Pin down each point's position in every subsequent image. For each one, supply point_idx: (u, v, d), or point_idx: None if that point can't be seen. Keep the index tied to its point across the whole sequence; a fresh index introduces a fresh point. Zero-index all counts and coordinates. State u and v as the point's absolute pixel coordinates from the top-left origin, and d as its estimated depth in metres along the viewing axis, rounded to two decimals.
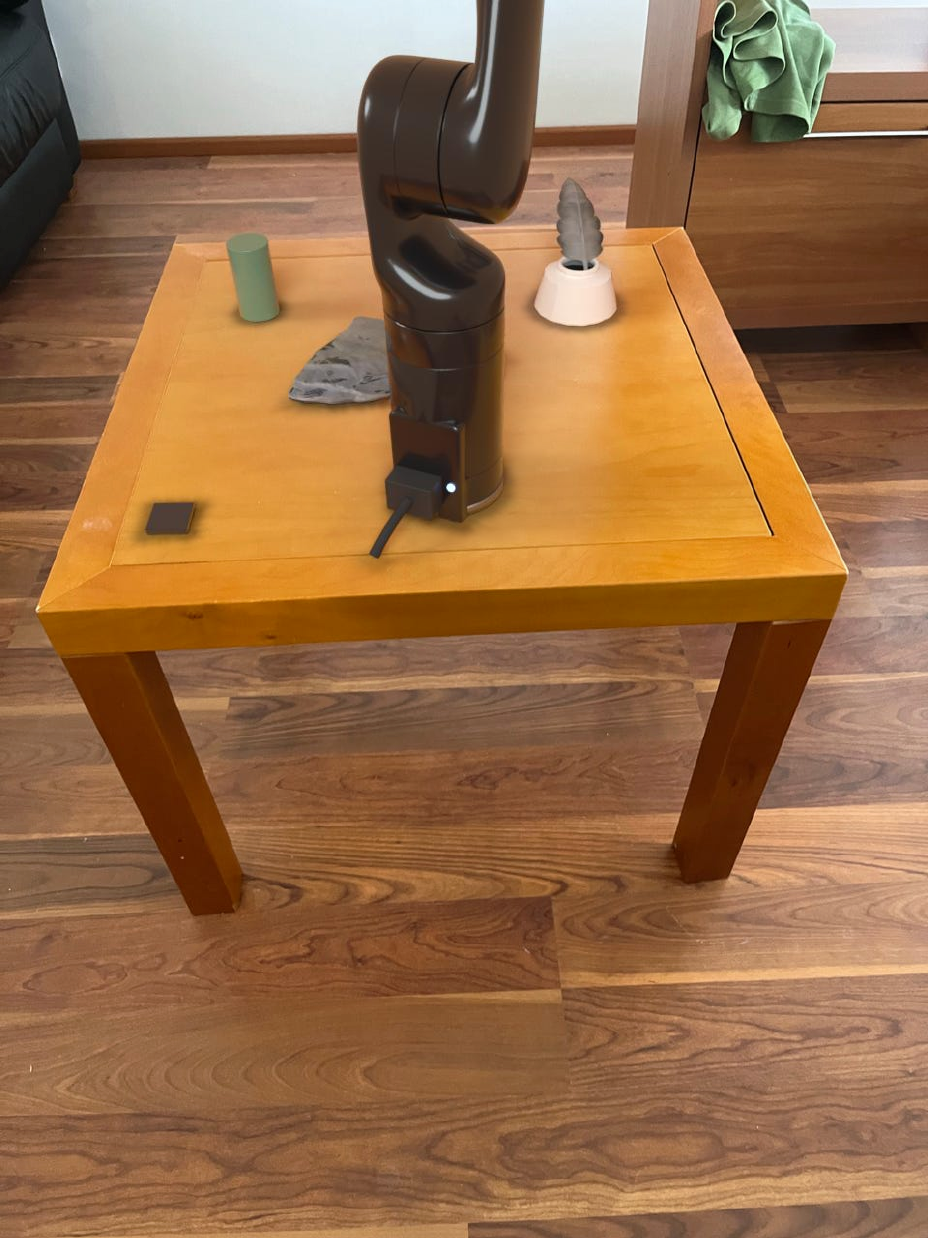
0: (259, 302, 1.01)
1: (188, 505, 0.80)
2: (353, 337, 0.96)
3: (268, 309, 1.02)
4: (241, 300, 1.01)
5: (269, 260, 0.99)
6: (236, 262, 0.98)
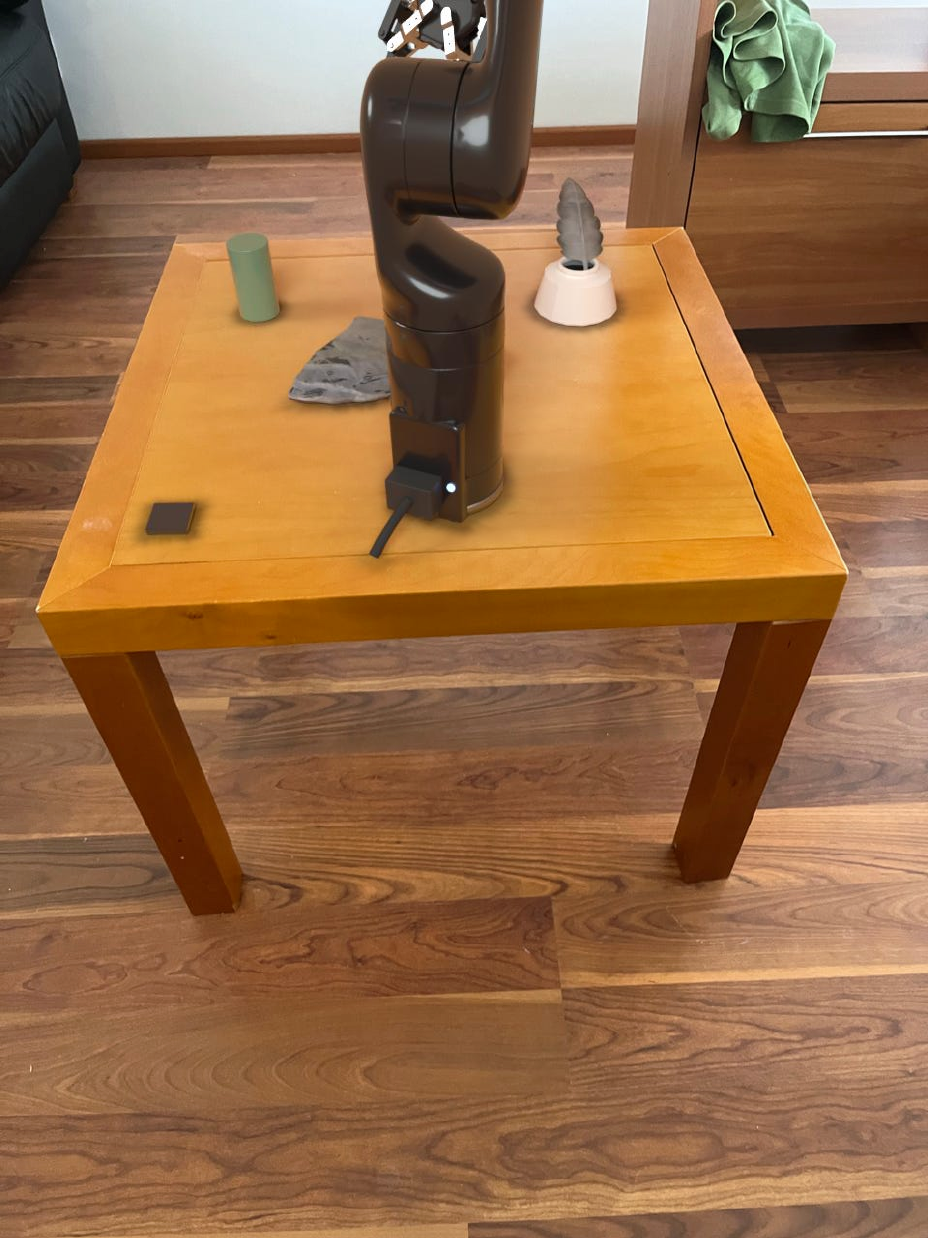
0: (259, 302, 1.01)
1: (188, 505, 0.80)
2: (353, 337, 0.96)
3: (268, 309, 1.02)
4: (241, 300, 1.01)
5: (269, 260, 0.99)
6: (236, 262, 0.98)
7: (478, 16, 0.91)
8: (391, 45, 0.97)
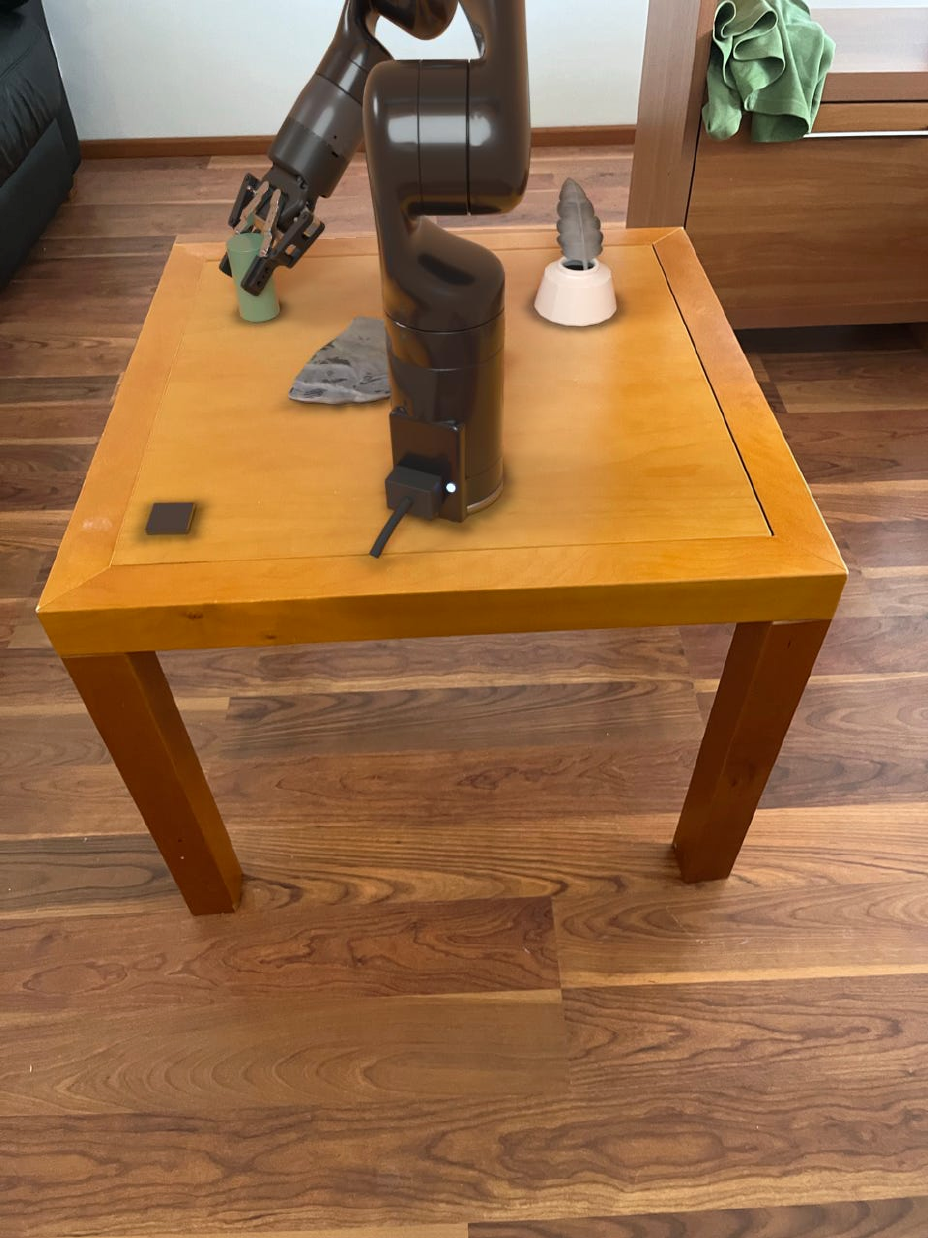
0: (259, 302, 1.01)
1: (188, 505, 0.80)
2: (353, 337, 0.96)
3: (268, 309, 1.02)
4: (241, 300, 1.01)
5: None
6: (236, 262, 0.98)
7: (303, 204, 0.95)
8: (236, 230, 1.00)
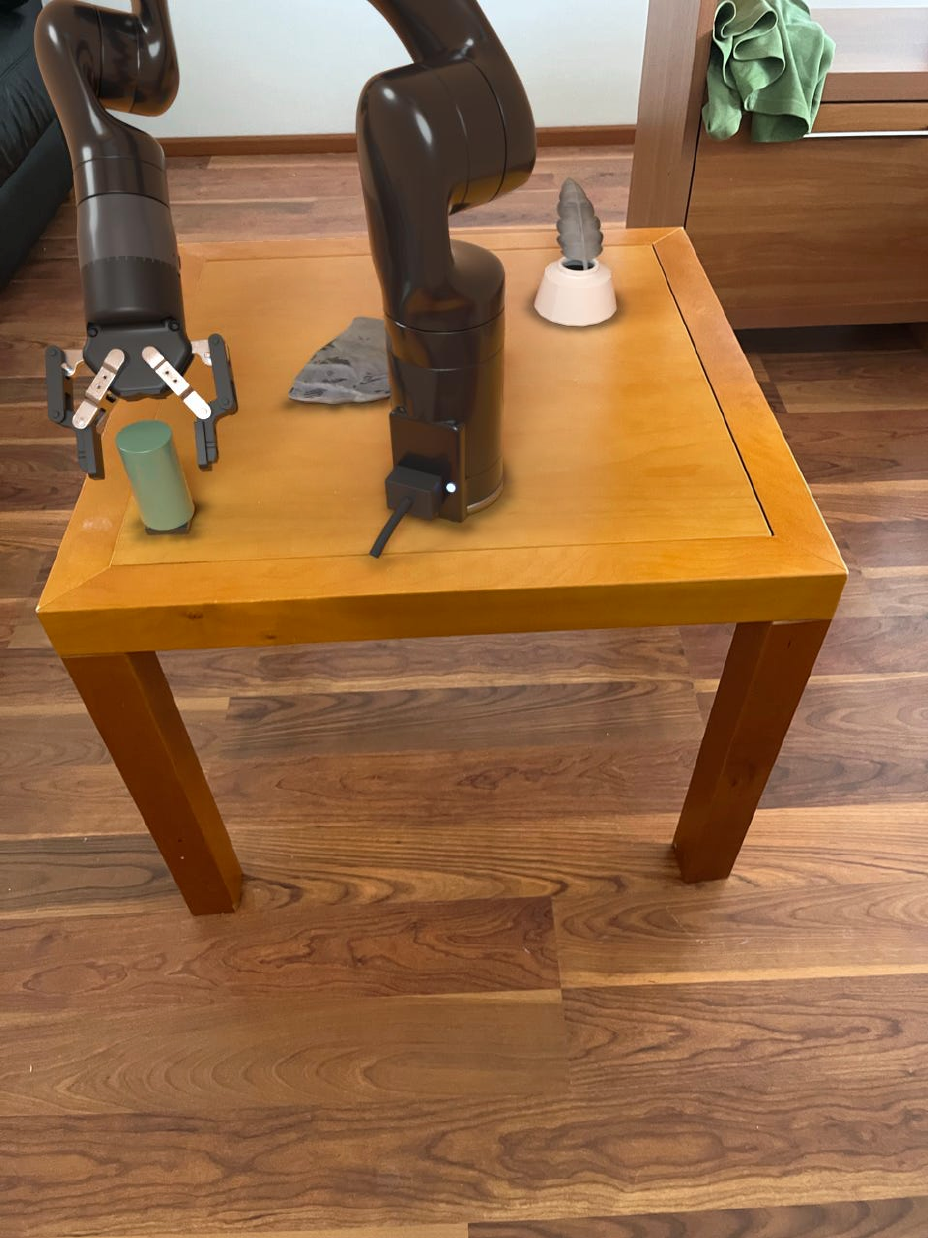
0: (185, 496, 0.77)
1: None
2: (353, 337, 0.96)
3: (191, 499, 0.79)
4: (165, 508, 0.76)
5: None
6: (157, 463, 0.73)
7: (189, 341, 0.74)
8: (81, 421, 0.73)
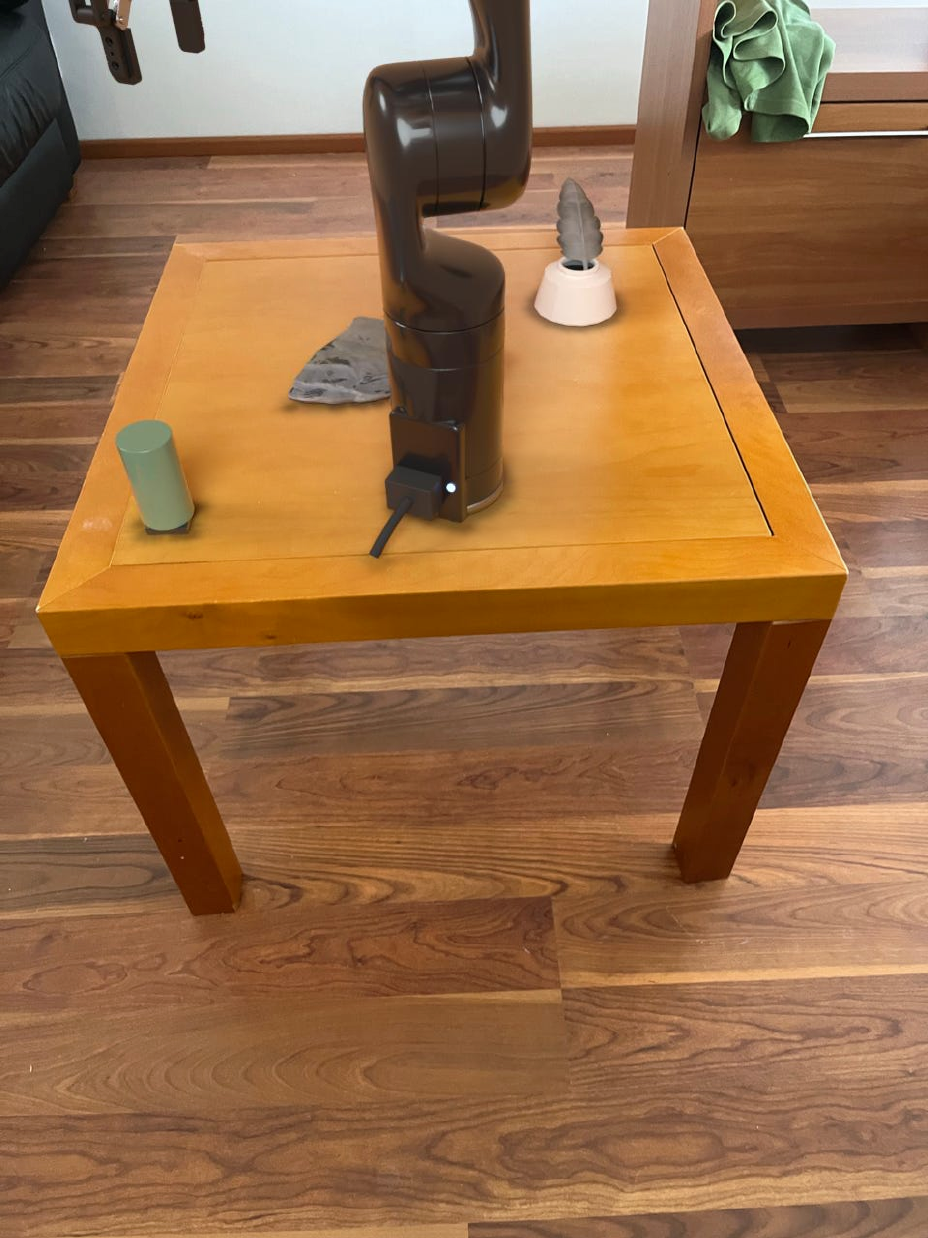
0: (185, 496, 0.77)
1: None
2: (353, 337, 0.96)
3: (191, 499, 0.79)
4: (165, 508, 0.76)
5: None
6: (157, 463, 0.73)
7: None
8: (125, 20, 0.69)
